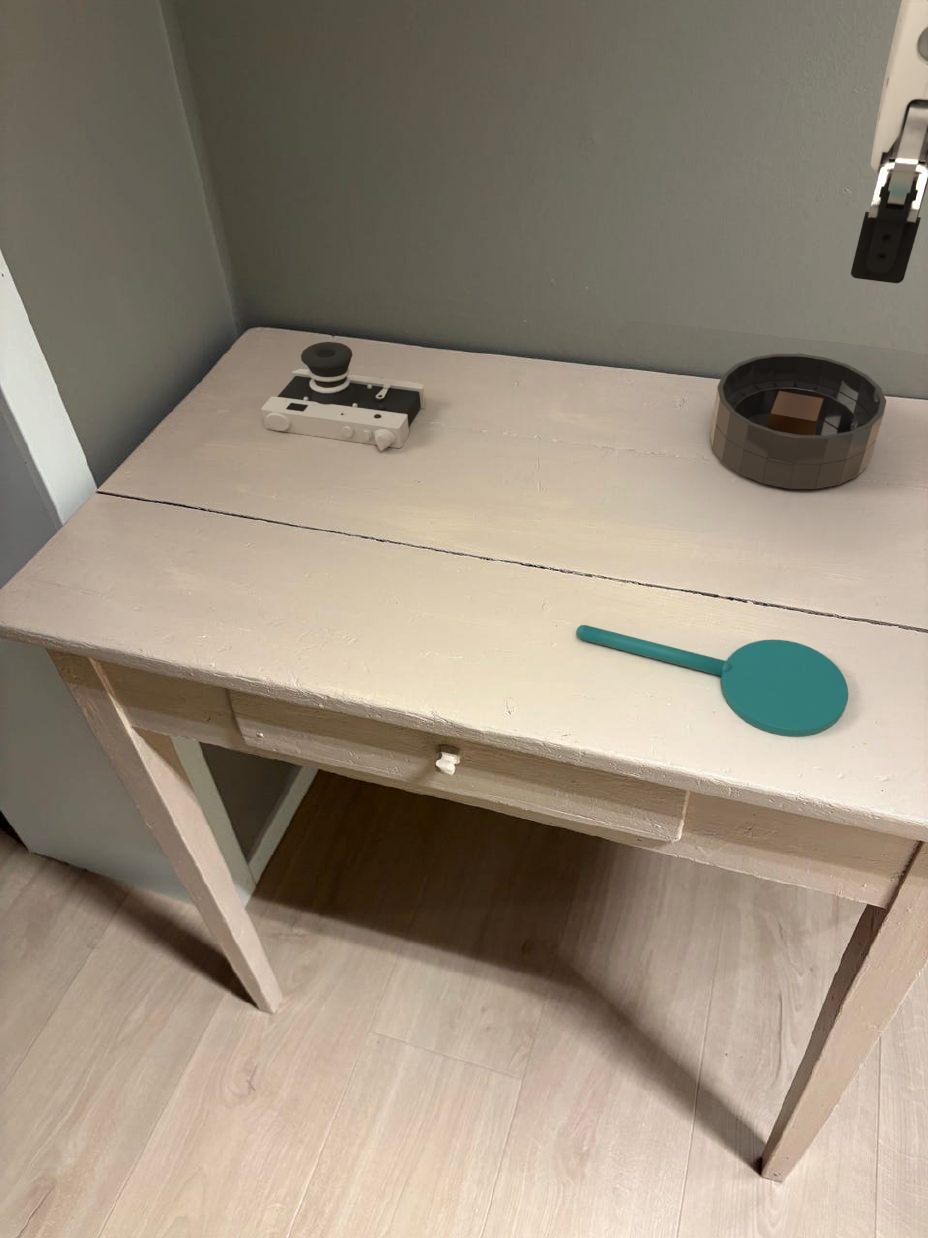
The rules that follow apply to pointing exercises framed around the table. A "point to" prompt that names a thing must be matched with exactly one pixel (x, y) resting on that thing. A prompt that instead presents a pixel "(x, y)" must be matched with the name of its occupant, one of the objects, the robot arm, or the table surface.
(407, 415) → the camera
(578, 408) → the table surface
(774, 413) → the block
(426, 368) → the table surface
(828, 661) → the teal lollipop paddle
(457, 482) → the table surface
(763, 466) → the shallow round bowl
